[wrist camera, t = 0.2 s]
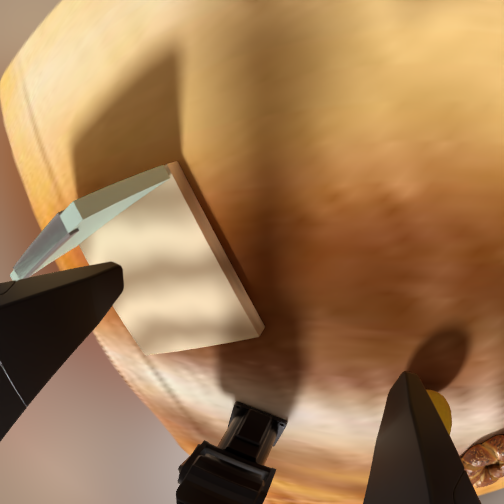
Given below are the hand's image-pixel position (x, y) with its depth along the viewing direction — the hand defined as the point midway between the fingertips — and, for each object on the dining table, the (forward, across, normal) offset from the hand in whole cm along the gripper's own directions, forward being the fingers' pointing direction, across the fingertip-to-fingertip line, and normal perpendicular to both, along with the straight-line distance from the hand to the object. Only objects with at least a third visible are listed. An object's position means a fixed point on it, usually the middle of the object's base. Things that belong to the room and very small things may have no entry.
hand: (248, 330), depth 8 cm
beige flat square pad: (+14, +13, +11) cm, 23 cm away
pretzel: (+15, -32, +23) cm, 42 cm away
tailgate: (+13, +18, +5) cm, 23 cm away
